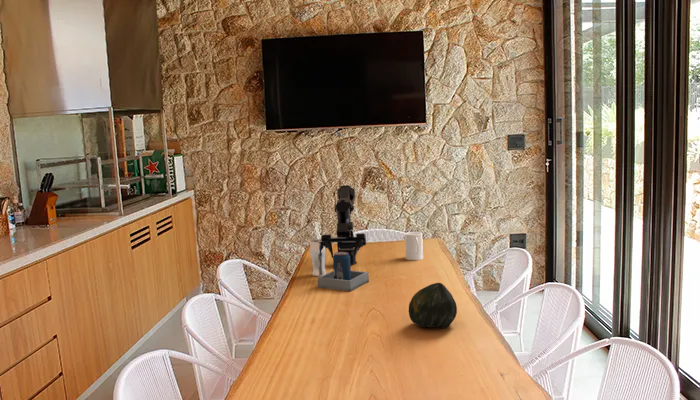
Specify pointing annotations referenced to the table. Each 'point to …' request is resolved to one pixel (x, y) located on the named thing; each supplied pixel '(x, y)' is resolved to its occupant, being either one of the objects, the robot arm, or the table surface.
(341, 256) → the soda can
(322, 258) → the beer glass
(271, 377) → the table surface
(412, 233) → the mug
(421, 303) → the squash
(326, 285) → the open box
